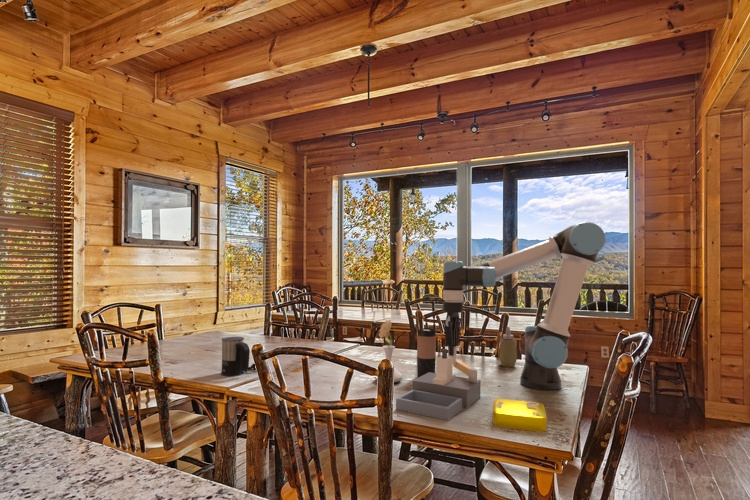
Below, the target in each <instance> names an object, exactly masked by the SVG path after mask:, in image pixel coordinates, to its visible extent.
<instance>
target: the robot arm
mask: <svg viewBox="0 0 750 500" xmlns="http://www.w3.org/2000/svg"><path fill="white" fill-rule="evenodd" d="M605 244H606V234H605V232H604V230H603V229H602V227H601V226H599V225H598V224H596V223H594V222H591V221H580V222H578V223H575V224H573V225H570V226H569V227H567V228H565V229H563V230H562V231H560V232H557V233H556V234H553V235H551V236H550V235H549V236H548V239H547V240H545V241H541V242H539V243H536V244H533V245H531V246H528V247H525V248H523V249H520V250H518V251H514V252H512V253H509V254H507V255H504V256H501V257H498V258H496V259H493V260H490V261H488V262H485V263H482V264H479V265H476V266H468V265H467V266H466V265H464V262H463V261H462V260H461V261H460V260H446V261H445V262H443V271H442V273H443V274H442V277H443V278H442V280H443V281H442V284H443V285H442V286H443V287H442V288H443V291H442V292H441V294H442V295H443V296H442V297H443V298H442V299H443V301H442V311H443V312H445V313H446V318H445V320H443V326H444V335H445V346H446V347H448V349H447V357H453V360H452V365H453V364H456V360H457V347H460V344H459V343H460V333H461V323H462V318H460V313H463V311H464V303H463V301H464V287H485V288H488V287H489V288H491V287H492V288H493V287H495V286H496V282H497V279H500V278H502V277H505V276H508V275H512V274H514V273H517V272H519V271H520V272H521V271H522V270H525V269H528V268H531V267H533V266H536V265H540V264H541V263H545V262H547V261H550V260H553V259H559V260H561V259H562V263H561V266H560V269H559V272H558V275H557V279H556V282H555V285H554V287H553V291H552V293H551V297H550V300H549V303H548V307H547V310H546V312H545V315H544V319H543V321H542V322H539V323H538V324H537V325H535V326H533V325H532V326H531V325H527V326H526V327H525V330H524V336H525V337H524V339H525V341H524V366H523V369H522V372H521V374H520V378H519V383H520V384H521V386H524V387H527V388H529V389H535V390H544V391H552V390H553V391H554V390H555V391H556V390H558V389H561V388H562V380H561V376H560V374H559V369H558V368H559V367H560V366H562V365H563V364H564V363H565V362H566V361H567V358H568V354H569V349H568V344H569V341H570V338H571V334H570V332H569V330H568V329H569V327H570V324H571V320H572V317H573V314H574V312H575V308H576V305H577V303H578V299H579V297H580V294H581V293H580V292H581V290H582V287H583V284H584V281H585V278H586V276H587V272H588V268H589V267H590V266H592V265H594V264H595V263H596V259H597V257H598V253H599V252H601V250H602V249H603V248H604V246H605Z"/></svg>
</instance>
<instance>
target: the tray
mask: <svg viewBox="0 0 750 500" xmlns="http://www.w3.org/2000/svg"><path fill="white" fill-rule="evenodd" d="M396 409H399V410H398V411H401V410H404V411H403V412H406V411H409V412H408V413H411V412H413V413H412V414H415V413H418V414H417V415H420V414H422V416H425V415H426V417H430V418H434V417H435V418H434V419H438V420H439V419H440V420H444V421H450V420H451V419H453V418H454V417H455V416H456V415H457V414H458V413H459V412H461V411H462V410H463V407H462V398H457V397H451V396H446V395H440V394H435V393H429V392H423V391H418V390H412V389H411V390H409V391H408V392H405V393H404V394H402V395H400V396H398V397H396V399H395V410H396Z"/></svg>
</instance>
